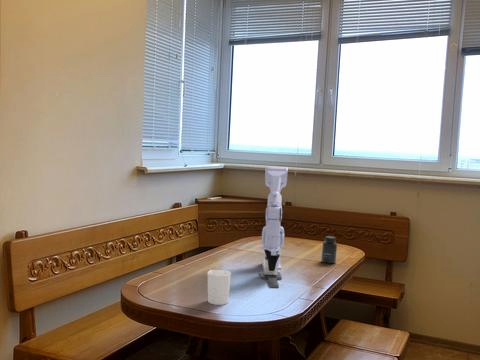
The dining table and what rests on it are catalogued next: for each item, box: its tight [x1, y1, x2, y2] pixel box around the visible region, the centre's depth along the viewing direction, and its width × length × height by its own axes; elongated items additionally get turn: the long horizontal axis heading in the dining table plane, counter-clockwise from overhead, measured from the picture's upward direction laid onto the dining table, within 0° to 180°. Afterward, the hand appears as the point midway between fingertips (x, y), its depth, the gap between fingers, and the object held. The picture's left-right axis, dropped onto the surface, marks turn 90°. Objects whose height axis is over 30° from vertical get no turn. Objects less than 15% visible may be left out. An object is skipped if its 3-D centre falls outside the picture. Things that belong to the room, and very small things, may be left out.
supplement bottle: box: [320, 235, 338, 264], centre depth 230 cm, size 7×7×12 cm
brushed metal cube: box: [263, 256, 279, 275], centre depth 200 cm, size 5×5×6 cm
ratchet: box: [259, 270, 283, 288], centre depth 195 cm, size 19×8×4 cm, turn 2°
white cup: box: [207, 269, 232, 306], centre depth 166 cm, size 8×8×10 cm
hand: (271, 269), depth 200 cm, fingers closed on brushed metal cube, 5 cm apart
